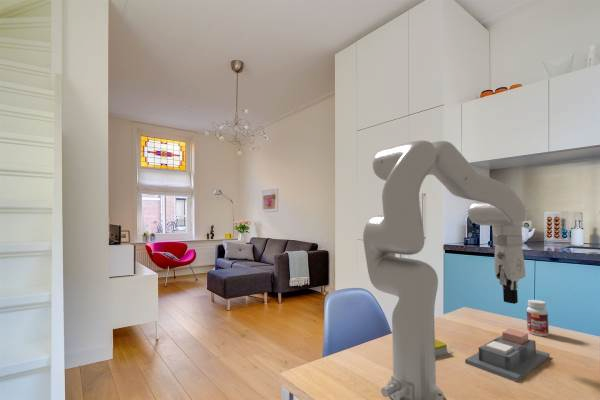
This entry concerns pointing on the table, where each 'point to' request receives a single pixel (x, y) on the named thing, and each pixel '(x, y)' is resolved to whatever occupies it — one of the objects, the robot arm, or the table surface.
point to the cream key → (499, 347)
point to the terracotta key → (515, 336)
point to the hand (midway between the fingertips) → (510, 302)
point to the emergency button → (441, 348)
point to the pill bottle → (537, 318)
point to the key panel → (509, 359)
